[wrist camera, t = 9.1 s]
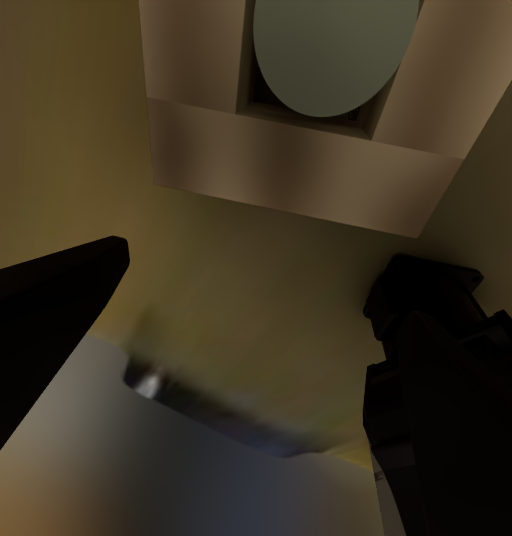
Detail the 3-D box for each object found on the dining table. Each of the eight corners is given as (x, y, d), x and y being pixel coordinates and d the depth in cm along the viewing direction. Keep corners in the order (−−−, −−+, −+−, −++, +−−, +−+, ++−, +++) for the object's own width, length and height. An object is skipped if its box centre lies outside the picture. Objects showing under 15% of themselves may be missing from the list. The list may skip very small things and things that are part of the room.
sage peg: (374, -3, 13) (456, -81, 6) (345, 97, 15) (376, 129, 8) (290, -18, 13) (267, -114, 6) (274, 83, 15) (244, 103, 8)
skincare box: (408, 411, 32) (471, 632, 20) (457, 431, 33) (548, 654, 21) (363, 435, 38) (390, 623, 25) (407, 452, 38) (455, 641, 26)
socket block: (574, -175, 10) (761, -339, 6) (393, 199, 18) (417, 238, 14) (184, -236, 10) (103, -428, 6) (186, 158, 19) (153, 184, 15)
